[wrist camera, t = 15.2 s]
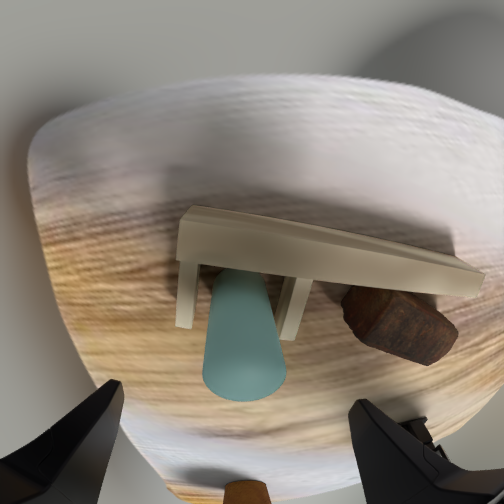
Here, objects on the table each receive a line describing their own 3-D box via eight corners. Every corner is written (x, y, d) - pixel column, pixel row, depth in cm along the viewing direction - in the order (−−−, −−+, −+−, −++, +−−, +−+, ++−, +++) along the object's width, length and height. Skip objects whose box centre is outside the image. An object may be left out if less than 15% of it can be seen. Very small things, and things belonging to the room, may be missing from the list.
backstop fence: (427, 326, 21) (450, 350, 17) (181, 306, 18) (171, 341, 14) (455, 256, 19) (485, 274, 15) (192, 204, 16) (179, 219, 12)
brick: (334, 307, 19) (357, 345, 15) (364, 262, 18) (397, 292, 14) (413, 342, 22) (437, 373, 17) (437, 309, 21) (466, 336, 16)
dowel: (270, 269, 18) (296, 348, 10) (260, 314, 19) (275, 403, 11) (216, 261, 17) (206, 339, 10) (210, 308, 18) (199, 397, 11)
